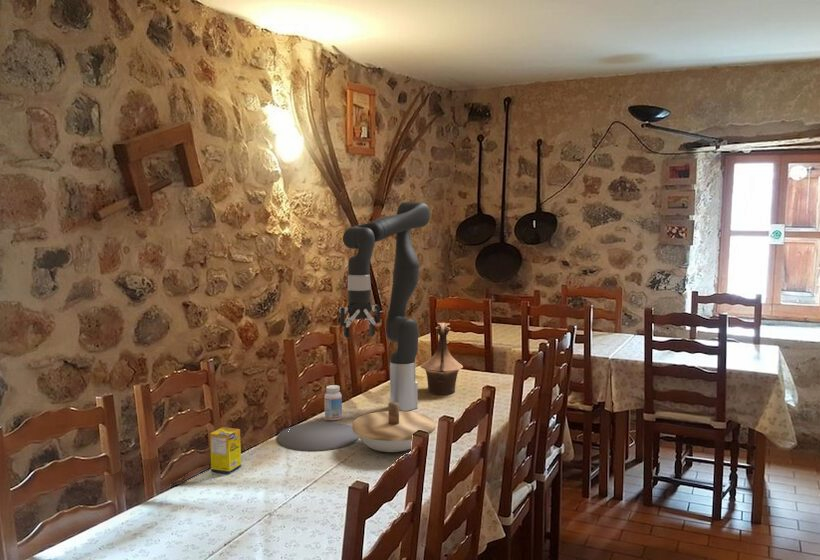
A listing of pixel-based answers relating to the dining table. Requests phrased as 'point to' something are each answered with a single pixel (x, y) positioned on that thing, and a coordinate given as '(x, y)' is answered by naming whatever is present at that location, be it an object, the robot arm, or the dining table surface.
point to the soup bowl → (386, 444)
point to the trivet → (317, 436)
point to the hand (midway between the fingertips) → (359, 337)
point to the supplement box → (225, 450)
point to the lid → (392, 424)
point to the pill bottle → (333, 403)
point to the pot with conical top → (442, 366)
